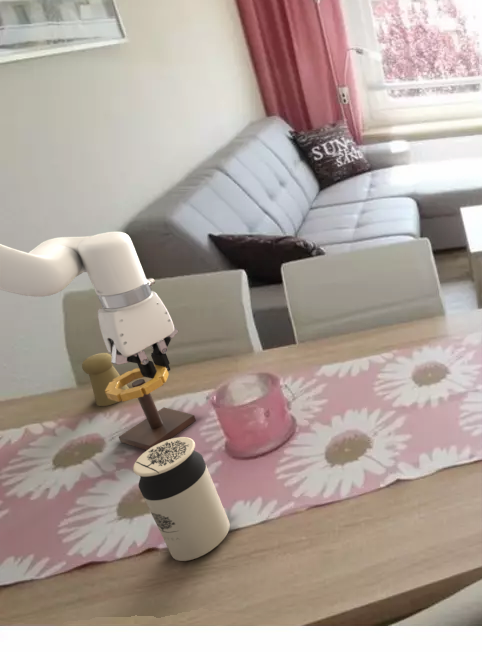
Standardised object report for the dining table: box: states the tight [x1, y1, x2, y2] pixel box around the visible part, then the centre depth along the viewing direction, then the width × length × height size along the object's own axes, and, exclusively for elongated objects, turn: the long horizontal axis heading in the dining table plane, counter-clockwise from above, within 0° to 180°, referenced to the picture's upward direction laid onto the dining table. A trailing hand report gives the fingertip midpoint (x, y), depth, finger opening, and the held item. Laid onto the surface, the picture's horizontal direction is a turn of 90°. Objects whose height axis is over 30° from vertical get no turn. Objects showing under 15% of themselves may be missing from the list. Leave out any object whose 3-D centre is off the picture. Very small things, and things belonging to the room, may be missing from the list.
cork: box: [81, 352, 130, 407], centre depth 120 cm, size 6×6×11 cm
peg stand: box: [118, 378, 197, 451], centre depth 109 cm, size 9×9×12 cm
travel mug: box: [132, 436, 231, 562], centre depth 84 cm, size 8×8×18 cm
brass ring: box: [105, 364, 170, 403], centre depth 106 cm, size 9×9×2 cm
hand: (157, 373), depth 110 cm, fingers closed on brass ring, 1 cm apart
